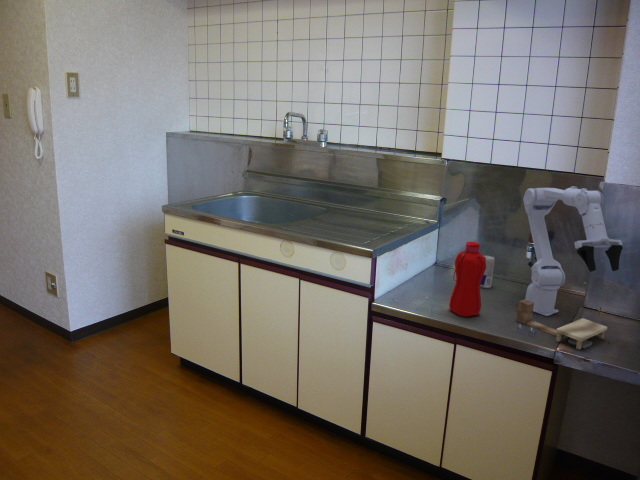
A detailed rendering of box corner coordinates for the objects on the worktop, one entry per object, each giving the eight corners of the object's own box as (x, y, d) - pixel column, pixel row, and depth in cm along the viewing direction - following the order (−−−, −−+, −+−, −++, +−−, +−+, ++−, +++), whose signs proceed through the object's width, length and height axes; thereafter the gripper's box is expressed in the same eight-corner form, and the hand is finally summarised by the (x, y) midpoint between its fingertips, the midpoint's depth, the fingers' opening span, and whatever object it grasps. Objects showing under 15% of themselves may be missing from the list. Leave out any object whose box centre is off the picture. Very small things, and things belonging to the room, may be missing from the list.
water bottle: (441, 309, 190) (449, 240, 183) (466, 305, 194) (475, 238, 188) (457, 319, 182) (466, 247, 175) (483, 315, 186) (493, 245, 180)
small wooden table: (554, 340, 170) (556, 328, 169) (580, 329, 179) (582, 318, 178) (579, 350, 164) (581, 338, 162) (605, 338, 173) (607, 326, 172)
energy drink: (476, 283, 219) (479, 254, 216) (489, 284, 218) (493, 255, 215) (477, 287, 214) (481, 258, 211) (491, 289, 213) (496, 259, 210)
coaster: (567, 344, 169) (568, 339, 169) (576, 340, 172) (576, 336, 172) (583, 350, 165) (583, 346, 165) (591, 346, 168) (592, 342, 168)
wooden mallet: (515, 320, 183) (518, 301, 182) (521, 318, 186) (524, 299, 184) (557, 337, 172) (560, 316, 170) (562, 334, 174) (566, 314, 173)
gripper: (580, 223, 163) (590, 267, 159) (624, 223, 165) (635, 266, 161) (567, 231, 169) (576, 273, 165) (609, 230, 172) (619, 272, 167)
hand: (604, 270), depth 163 cm, fingers open, 7 cm apart
